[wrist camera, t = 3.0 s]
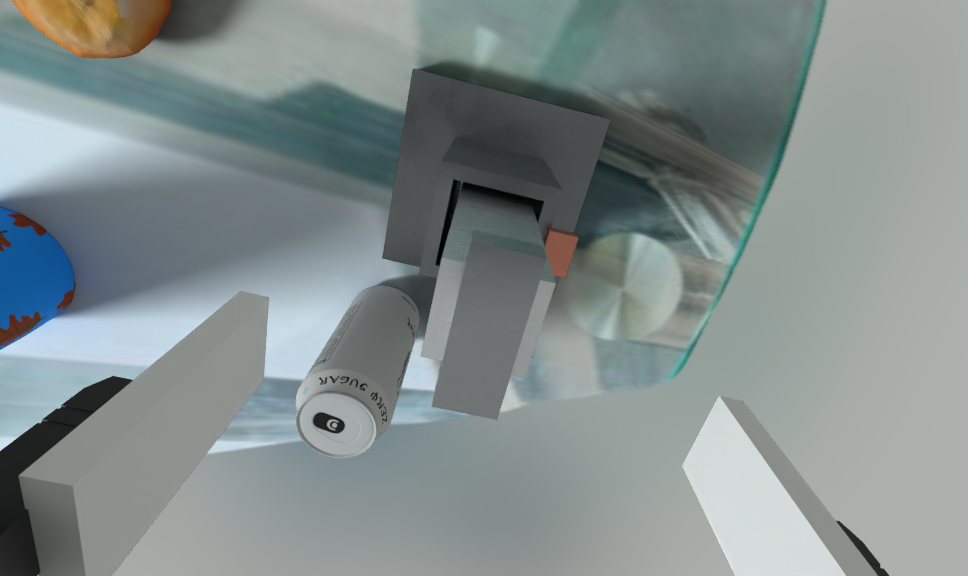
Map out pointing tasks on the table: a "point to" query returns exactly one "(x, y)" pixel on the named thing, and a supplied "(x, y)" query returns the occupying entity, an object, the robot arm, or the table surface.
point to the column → (487, 300)
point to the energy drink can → (358, 374)
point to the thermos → (30, 277)
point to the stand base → (487, 165)
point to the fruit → (97, 24)
